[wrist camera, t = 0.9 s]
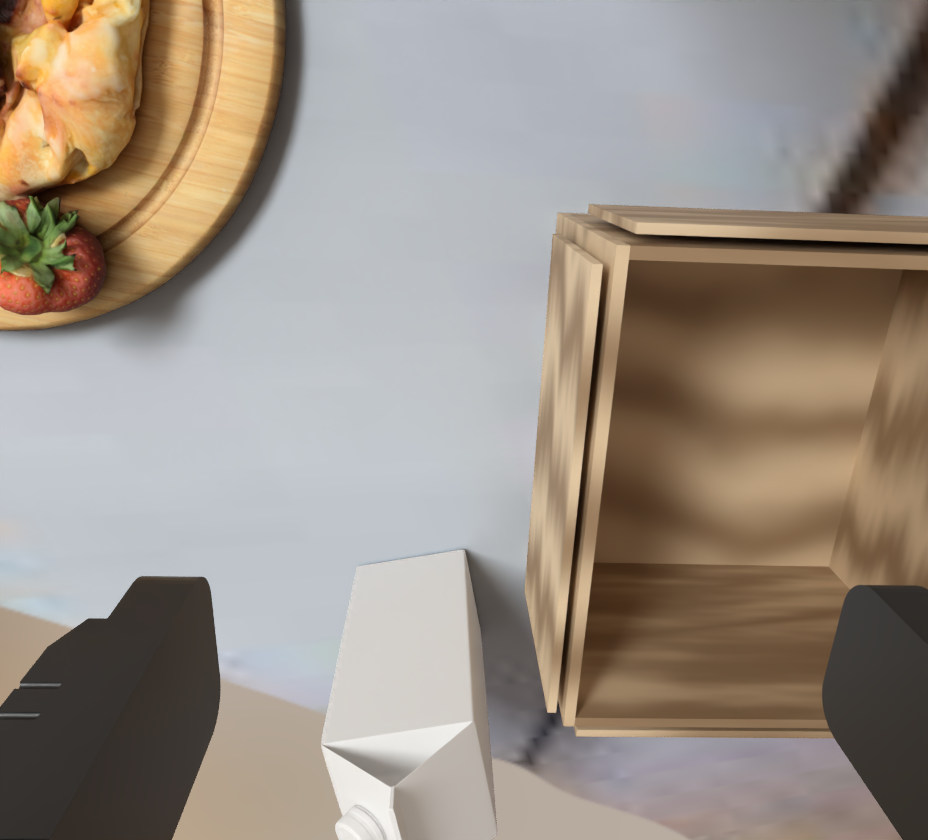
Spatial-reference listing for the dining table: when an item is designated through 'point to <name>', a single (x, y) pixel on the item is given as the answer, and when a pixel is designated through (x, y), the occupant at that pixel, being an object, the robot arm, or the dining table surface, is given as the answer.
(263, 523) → the dining table surface
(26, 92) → the wooden plate with food
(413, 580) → the milk carton
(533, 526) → the light wooden open box
